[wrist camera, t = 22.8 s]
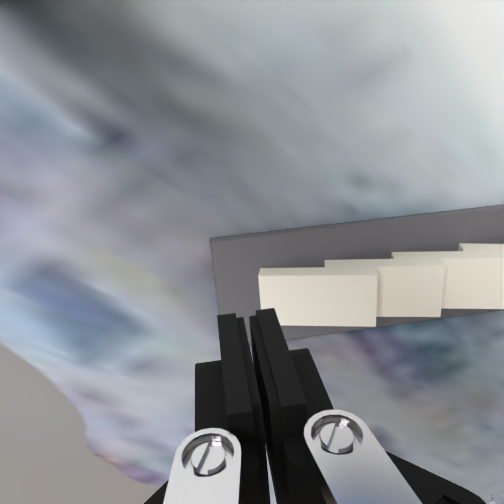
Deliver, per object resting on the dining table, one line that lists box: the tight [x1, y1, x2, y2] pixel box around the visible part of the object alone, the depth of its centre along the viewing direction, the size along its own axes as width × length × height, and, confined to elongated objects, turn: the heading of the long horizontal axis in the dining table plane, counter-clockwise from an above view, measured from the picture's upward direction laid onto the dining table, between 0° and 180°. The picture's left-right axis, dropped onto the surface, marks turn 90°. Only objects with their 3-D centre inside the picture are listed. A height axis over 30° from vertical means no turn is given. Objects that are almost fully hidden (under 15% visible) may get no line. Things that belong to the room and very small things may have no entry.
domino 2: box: [324, 258, 446, 317], centre depth 38 cm, size 2×5×10 cm
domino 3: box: [391, 251, 504, 309], centre depth 38 cm, size 2×5×10 cm
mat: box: [210, 205, 504, 345], centre depth 40 cm, size 30×11×1 cm, turn 95°
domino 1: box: [258, 267, 378, 327], centre depth 37 cm, size 2×5×10 cm
